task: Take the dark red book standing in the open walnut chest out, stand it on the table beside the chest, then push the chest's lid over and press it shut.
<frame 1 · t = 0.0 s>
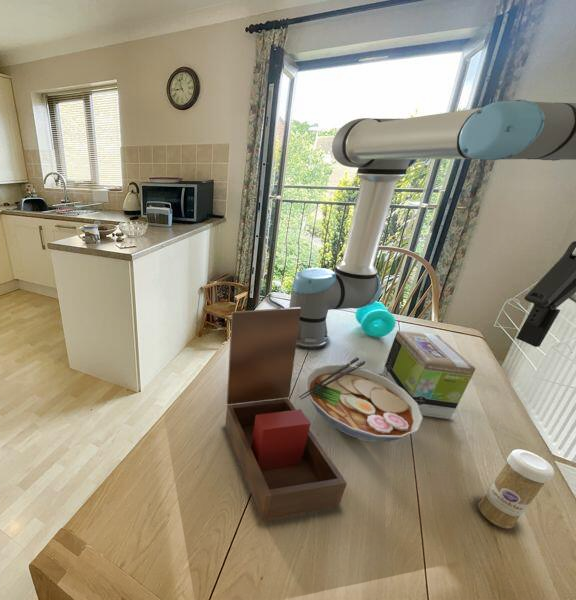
hand: (560, 339, 51), 28 cm above the table, tool pointing down, fingers open, 13 cm apart
ramen bowl: (351, 420, 72), on the table
lid: (262, 357, 64), point 18 cm above the table, hinge at 95.0°
tea box: (412, 396, 79), on the table
sprinkles bottle: (494, 516, 53), on the table
book: (274, 460, 61), point 1 cm above the table, touching chest
chest: (273, 464, 61), on the table
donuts: (370, 331, 109), on the table
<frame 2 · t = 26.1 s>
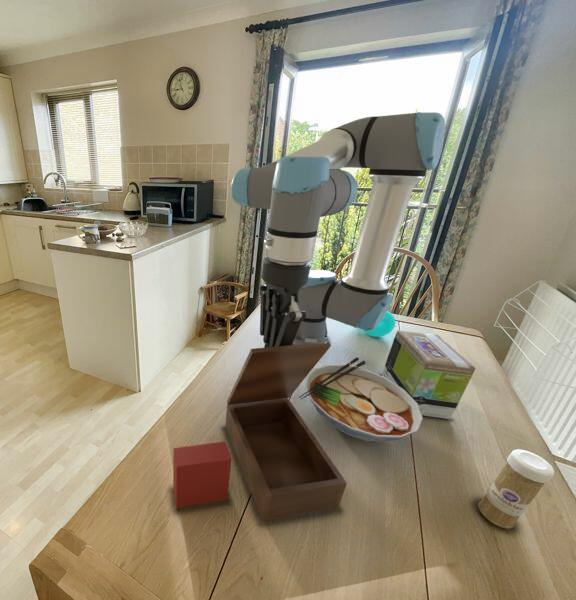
hand: (268, 374, 61), 17 cm above the table, tool pointing down, fingers closed
lid: (272, 377, 59), point 17 cm above the table, hinge at 65.7°, touching gripper
book: (199, 496, 55), on the table
everything else where it was.
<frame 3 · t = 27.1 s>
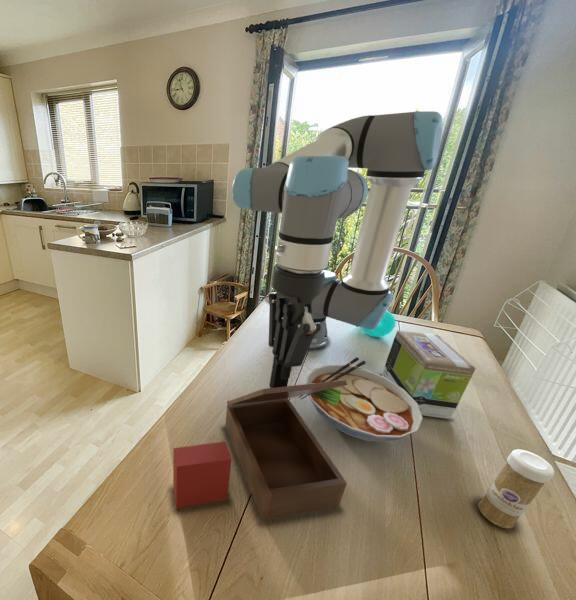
hand: (277, 387, 57), 17 cm above the table, tool pointing down, fingers closed
lid: (278, 394, 58), point 15 cm above the table, hinge at 47.4°, touching gripper
everything else where it was.
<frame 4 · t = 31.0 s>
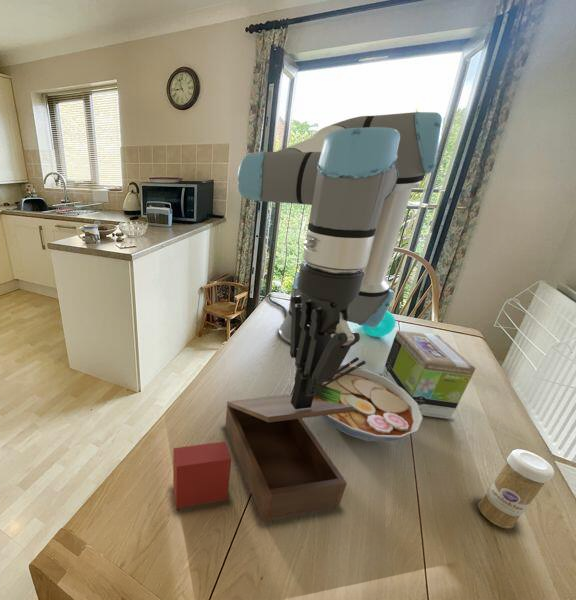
hand: (300, 404, 50), 19 cm above the table, tool pointing down, fingers closed
lid: (280, 405, 57), point 14 cm above the table, hinge at 36.4°, touching gripper
everything else where it was.
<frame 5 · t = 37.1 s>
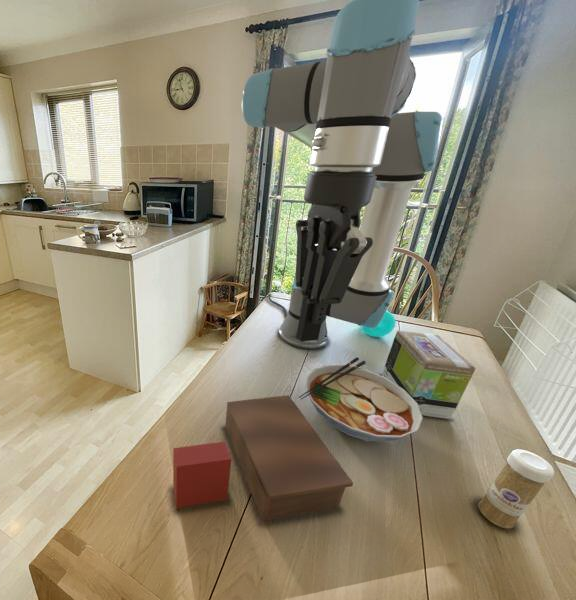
hand: (306, 338, 47), 30 cm above the table, tool pointing down, fingers closed
lid: (280, 438, 58), point 8 cm above the table, hinge at 1.7°
everything else where it was.
at the end: book inside the target area (0.0 cm from its centre), on the table; book tilted 0°; lid at +2° (first picture: +95°) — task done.
